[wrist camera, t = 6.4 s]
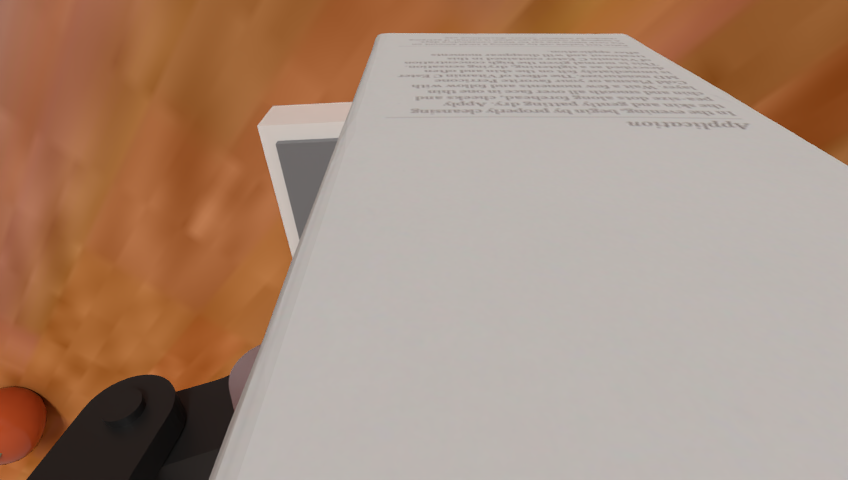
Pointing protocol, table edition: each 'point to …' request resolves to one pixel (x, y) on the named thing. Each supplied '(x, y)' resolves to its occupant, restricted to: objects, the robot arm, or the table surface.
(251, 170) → the table surface
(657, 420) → the small box
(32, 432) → the tomato
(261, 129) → the stack base
